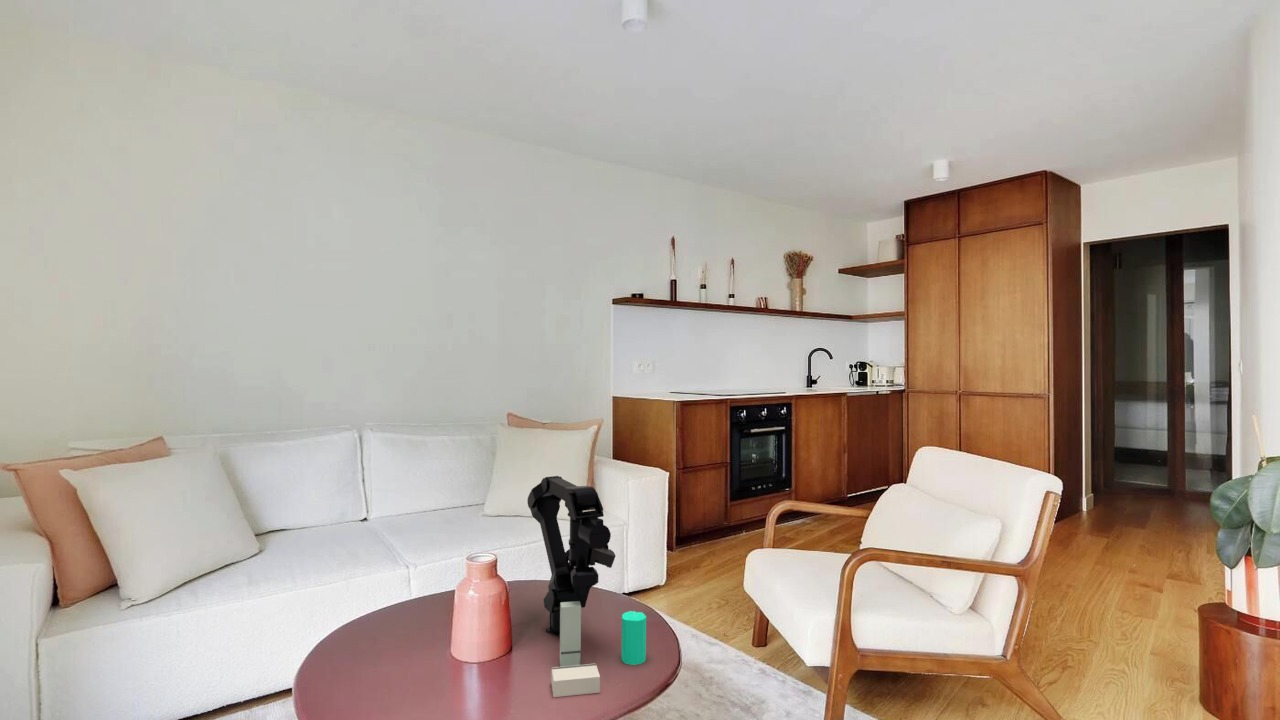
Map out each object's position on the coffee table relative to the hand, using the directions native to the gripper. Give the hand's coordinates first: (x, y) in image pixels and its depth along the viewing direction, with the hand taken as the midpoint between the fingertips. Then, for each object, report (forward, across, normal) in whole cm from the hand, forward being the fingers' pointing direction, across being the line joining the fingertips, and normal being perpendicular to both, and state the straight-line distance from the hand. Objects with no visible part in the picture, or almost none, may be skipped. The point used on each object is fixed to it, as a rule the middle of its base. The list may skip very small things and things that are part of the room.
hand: (580, 600), depth 162 cm
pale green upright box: (+12, -8, +3) cm, 15 cm away
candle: (+12, -8, -12) cm, 19 cm away
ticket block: (+12, -19, +3) cm, 22 cm away
